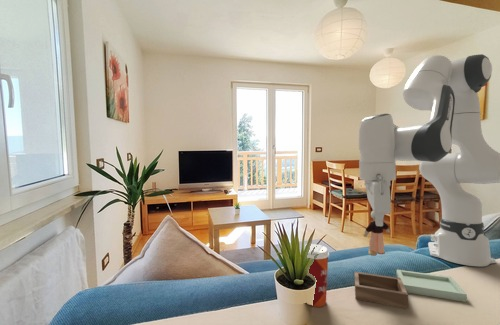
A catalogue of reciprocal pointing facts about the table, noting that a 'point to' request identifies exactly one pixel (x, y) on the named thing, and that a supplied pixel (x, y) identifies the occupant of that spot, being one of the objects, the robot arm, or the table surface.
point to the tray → (431, 285)
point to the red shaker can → (319, 273)
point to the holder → (380, 289)
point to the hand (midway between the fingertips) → (378, 223)
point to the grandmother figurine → (376, 237)
